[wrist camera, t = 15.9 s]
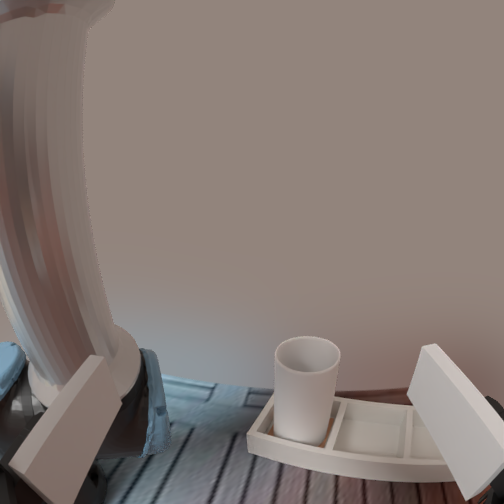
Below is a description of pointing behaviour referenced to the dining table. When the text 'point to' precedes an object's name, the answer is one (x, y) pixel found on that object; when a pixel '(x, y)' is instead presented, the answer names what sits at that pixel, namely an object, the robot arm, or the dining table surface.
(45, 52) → the robot arm
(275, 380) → the cup
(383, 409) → the bay rack
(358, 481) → the dining table surface
